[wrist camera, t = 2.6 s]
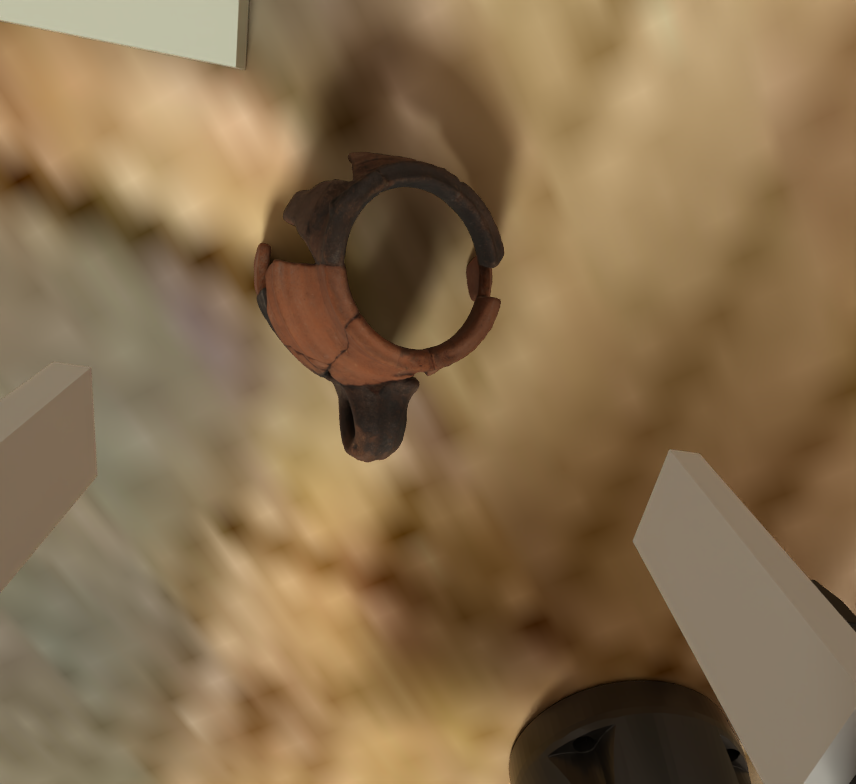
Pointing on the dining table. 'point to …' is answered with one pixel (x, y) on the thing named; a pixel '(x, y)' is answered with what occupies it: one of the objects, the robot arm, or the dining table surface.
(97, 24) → the sage tile
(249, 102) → the dining table surface
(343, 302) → the pottery mug
